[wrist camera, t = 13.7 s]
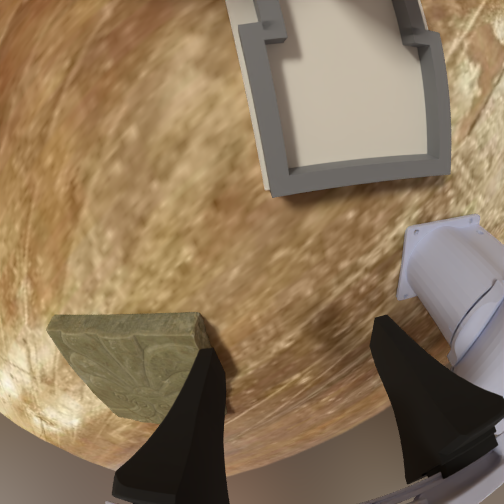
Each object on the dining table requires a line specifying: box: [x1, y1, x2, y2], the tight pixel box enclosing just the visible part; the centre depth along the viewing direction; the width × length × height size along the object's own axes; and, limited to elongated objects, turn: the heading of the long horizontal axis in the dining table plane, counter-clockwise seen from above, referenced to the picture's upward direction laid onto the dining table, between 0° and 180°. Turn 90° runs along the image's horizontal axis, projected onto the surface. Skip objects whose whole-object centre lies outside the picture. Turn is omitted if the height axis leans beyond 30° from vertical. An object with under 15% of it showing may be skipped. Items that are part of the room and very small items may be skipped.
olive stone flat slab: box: [46, 312, 227, 424], centre depth 28 cm, size 19×20×4 cm
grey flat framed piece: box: [225, 0, 451, 198], centre depth 11 cm, size 14×22×2 cm, turn 11°
